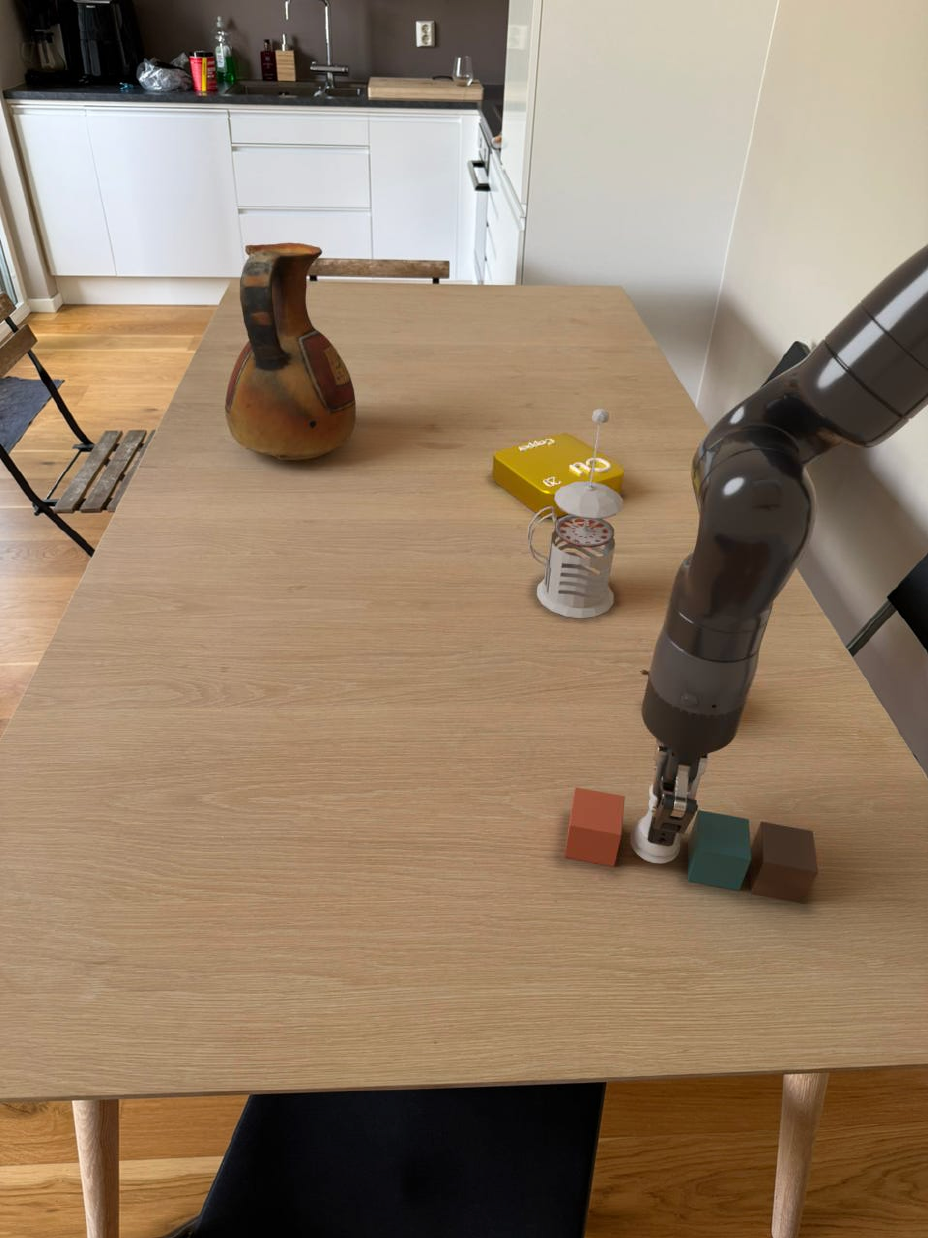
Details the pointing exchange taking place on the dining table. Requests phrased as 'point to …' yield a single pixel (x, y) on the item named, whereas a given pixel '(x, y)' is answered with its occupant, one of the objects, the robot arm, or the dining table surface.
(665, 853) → the rook chess piece
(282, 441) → the ceramic pitcher
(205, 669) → the dining table surface
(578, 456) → the element tile
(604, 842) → the terracotta block
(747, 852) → the teal block
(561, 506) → the french press
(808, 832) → the walnut block
